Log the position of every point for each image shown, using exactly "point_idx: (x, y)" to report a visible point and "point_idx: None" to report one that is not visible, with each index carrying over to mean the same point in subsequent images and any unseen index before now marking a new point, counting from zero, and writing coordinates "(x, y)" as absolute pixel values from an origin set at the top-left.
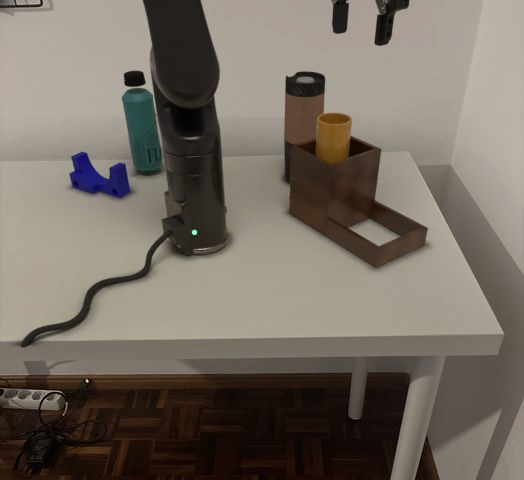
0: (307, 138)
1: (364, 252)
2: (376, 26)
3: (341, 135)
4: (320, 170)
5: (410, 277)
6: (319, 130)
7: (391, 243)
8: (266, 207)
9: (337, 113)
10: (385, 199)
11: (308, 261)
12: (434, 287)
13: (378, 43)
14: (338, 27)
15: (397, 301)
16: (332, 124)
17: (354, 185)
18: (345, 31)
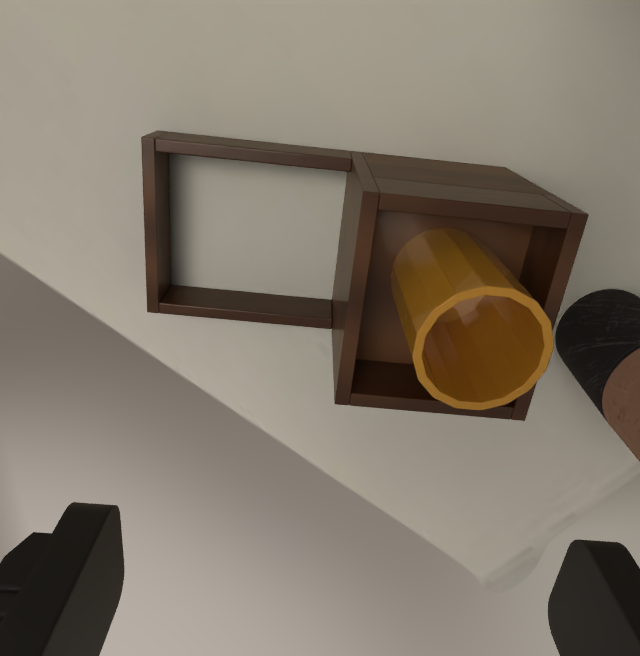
0: (631, 372)
1: (198, 138)
2: (49, 614)
3: (412, 311)
4: (409, 188)
5: (79, 161)
6: (497, 276)
7: (144, 186)
8: (581, 143)
9: (507, 395)
10: None
11: (291, 12)
12: (18, 169)
13: (66, 509)
14: (589, 586)
15: (17, 51)
16: (449, 303)
17: (343, 275)
18: (548, 608)
